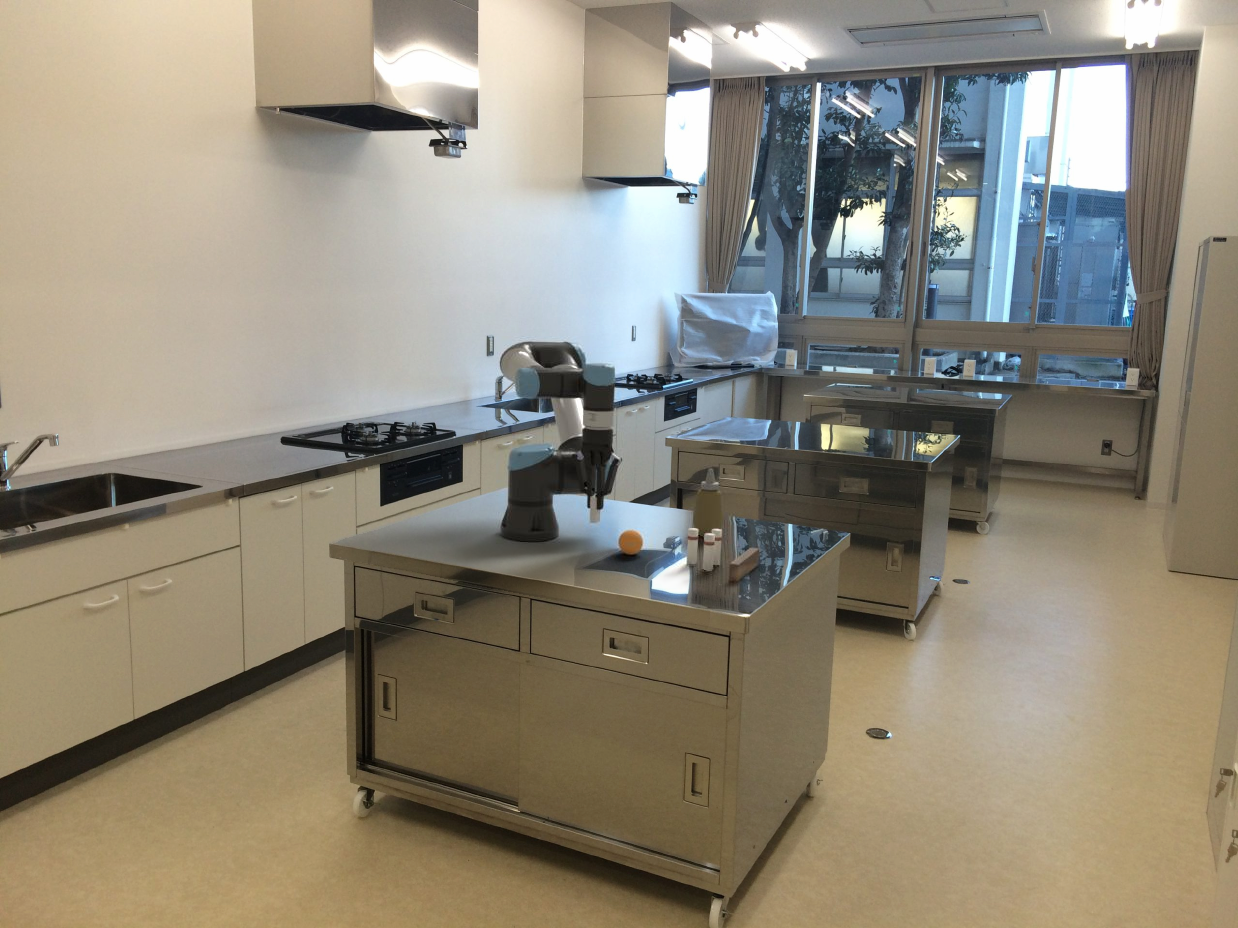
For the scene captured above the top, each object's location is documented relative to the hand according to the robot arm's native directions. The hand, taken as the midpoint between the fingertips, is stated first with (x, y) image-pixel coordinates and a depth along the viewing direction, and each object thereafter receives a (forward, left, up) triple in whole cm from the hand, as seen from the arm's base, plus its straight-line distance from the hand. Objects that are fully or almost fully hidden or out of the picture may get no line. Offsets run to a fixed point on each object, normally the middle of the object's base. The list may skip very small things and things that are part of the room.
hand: (594, 521), depth 242 cm
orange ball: (+10, 0, -4) cm, 11 cm away
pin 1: (+31, -2, -7) cm, 32 cm away
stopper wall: (+39, 0, -7) cm, 39 cm away
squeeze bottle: (+20, +28, -7) cm, 35 cm away
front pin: (+26, 0, -7) cm, 27 cm away
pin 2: (+31, +3, -7) cm, 32 cm away
